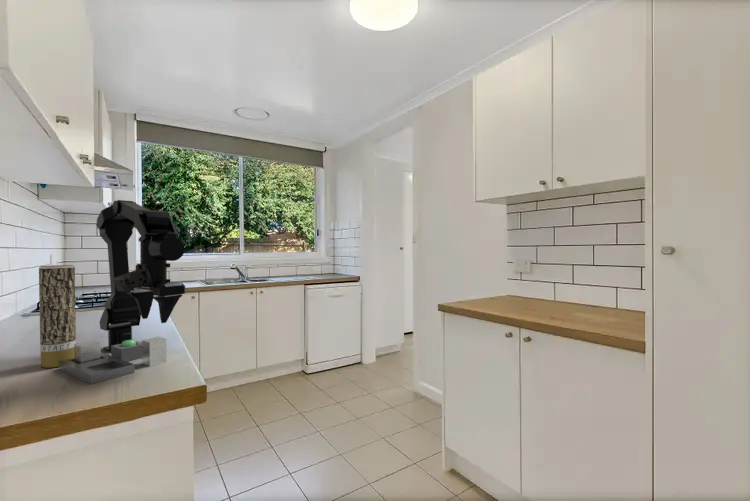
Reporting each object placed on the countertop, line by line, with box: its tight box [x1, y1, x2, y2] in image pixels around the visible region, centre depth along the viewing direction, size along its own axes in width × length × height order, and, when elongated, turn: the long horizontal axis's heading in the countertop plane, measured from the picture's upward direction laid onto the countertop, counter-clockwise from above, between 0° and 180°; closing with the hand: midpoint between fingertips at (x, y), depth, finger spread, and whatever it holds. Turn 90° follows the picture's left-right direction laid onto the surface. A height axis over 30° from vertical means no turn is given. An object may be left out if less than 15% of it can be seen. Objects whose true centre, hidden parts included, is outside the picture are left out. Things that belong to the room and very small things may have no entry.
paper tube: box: [38, 264, 77, 369], centre depth 91 cm, size 7×7×25 cm
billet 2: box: [141, 336, 167, 367], centre depth 92 cm, size 4×4×6 cm
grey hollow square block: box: [110, 340, 142, 362], centre depth 97 cm, size 6×6×4 cm
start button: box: [122, 339, 137, 347], centre depth 97 cm, size 3×3×2 cm
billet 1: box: [74, 339, 102, 364], centre depth 89 cm, size 4×4×6 cm
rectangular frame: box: [59, 351, 135, 385], centre depth 87 cm, size 18×8×2 cm, turn 57°
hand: (154, 320), depth 92 cm, fingers open, 9 cm apart
